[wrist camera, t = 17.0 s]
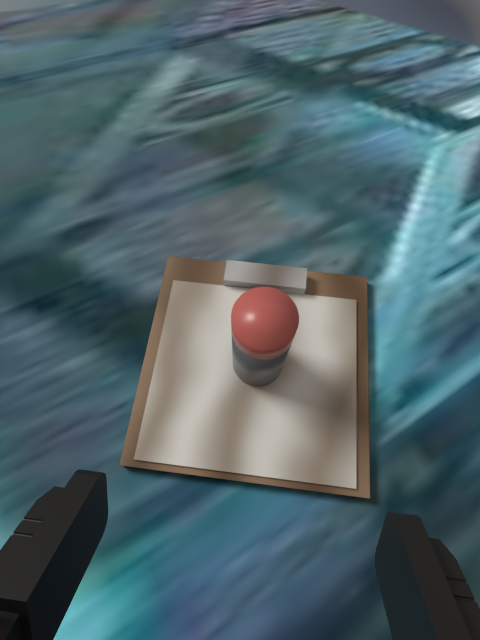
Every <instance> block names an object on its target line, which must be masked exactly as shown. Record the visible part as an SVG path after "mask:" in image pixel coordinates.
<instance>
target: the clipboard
mask: <svg viewBox="0 0 480 640" xmlns="http://www.w3.org/2000/svg"><path fill="white" fill-rule="evenodd" d="M256 287H272V288H276V289H278V290H281V291H282V292H284V293H285V294H287V295H288V296H289V297H290V298H291V299H292V300H293V301H294V303H295V305H296V307H297V309H298V313H299V325H298V329H297V331H296V334H295V336H294V339H293V342H292V344H291V347H290V349H289V352H288V354H287V357H286V360H285V362H284V365H283V367H282V370H281V372H280V374H279V376H278V377H277V378H276V379H275V380H274V381H273V382H272V383H270V384H268V385H265V386H252V385H249V384H246V383H245V382H243V381H242V380H241V379H240V378H239V377H238V376H237V375H236V373H235V371H234V368H233V358H232V333H231V312H232V308H233V305H234V303H235V302H236V300H237V299H238V298H239V297H240V296H241V295H242V294H243V293H244V292H246V291H248V290H250V289H253V288H256ZM119 465H121V466H127V467H135V468H142V469H150V470H157V471H165V472H173V473H180V474H188V475H195V476H203V477H210V478H218V479H225V480H233V481H240V482H248V483H255V484H263V485H270V486H278V487H285V488H293V489H300V490H308V491H315V492H323V493H330V494H338V495H345V496H353V497H360V498H369V499H370V456H369V379H368V302H367V277H360V276H350V275H341V274H331V273H322V272H312V271H307V268H298V267H288V266H279V265H269V264H260V263H250V262H240V261H231V260H227V262H217V261H207V260H198V259H188V258H179V257H169V256H168V260H167V264H166V268H165V272H164V277H163V281H162V285H161V290H160V294H159V298H158V302H157V307H156V311H155V315H154V319H153V324H152V328H151V332H150V336H149V341H148V345H147V349H146V353H145V358H144V362H143V366H142V371H141V375H140V379H139V383H138V388H137V392H136V396H135V400H134V405H133V409H132V413H131V417H130V422H129V426H128V430H127V434H126V439H125V443H124V447H123V452H122V456H121V460H120V464H119Z"/></svg>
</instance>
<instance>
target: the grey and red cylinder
mask: <svg viewBox="0 0 480 640" xmlns="http://www.w3.org/2000/svg"><path fill="white" fill-rule="evenodd" d="M298 325H299V313H298V309H297V307H296V305H295V303H294V301H293V300H292V299H291V298H290V297H289V296H288V295H287V294H285V293H284V292H282V291H281V290H278V289H276V288H272V287H256V288H253V289H250V290H248V291H246V292H244V293H243V294H242V295H241V296H240V297H239V298H238V299H237V300H236V302H235V303H234V305H233V308H232V312H231V333H232V358H233V368H234V371H235V373H236V375H237V376H238V377H239V378H240V379H241V380H242V381H243V382H245V383H246V384H249V385H252V386H265V385H268V384H270V383H272V382H273V381H274V380H275V379H276V378H277V377H278V376H279V374H280V372H281V370H282V367H283V365H284V362H285V360H286V357H287V354H288V352H289V349H290V347H291V344H292V342H293V339H294V336H295V334H296V331H297V329H298Z"/></svg>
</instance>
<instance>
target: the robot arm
mask: <svg viewBox="0 0 480 640" xmlns="http://www.w3.org/2000/svg"><path fill="white" fill-rule="evenodd" d="M107 518H108V501H107V481H106V474H105V473H102V472H94V471H87V470H77V471H76V472H75V473H74V474H73V476H72V477H71V479H70V480H69V482H68V483H67V485H66V486H65V488H62V487H53V488H52V489H51V490H49V491H48V492H47V493H45V494H44V495H43V496H42V497H40V498H39V499H38V500H37V501H36V502H35V503H34V505H33V506H32V507H31V509H30V510H29V512H28V513H27V514H26V516H25V517H24V520H23V521H21V523H20V524H19V525H18V527H17V528H16V529H15V531H14V534H13V535H11V536H10V538H9V539H8V540H7V542H6V543H5V545H4V546H3V547H2V549H1V550H0V640H53V639H54V637H55V635H56V633H57V630H58V628H59V626H60V624H61V622H62V620H63V618H64V616H65V614H66V612H67V609H68V607H69V605H70V603H71V601H72V599H73V597H74V595H75V593H76V590H77V588H78V586H79V584H80V582H81V580H82V578H83V576H84V574H85V572H86V569H87V567H88V565H89V563H90V561H91V559H92V557H93V555H94V553H95V551H96V548H97V546H98V544H99V542H100V540H101V538H102V536H103V533H104V530H105V527H106V523H107ZM375 568H376V575H377V579H378V583H379V587H380V591H381V595H382V599H383V603H384V607H385V611H386V615H387V619H388V622H389V626H390V630H391V634H392V638H393V640H480V609H479V607H478V605H477V603H475V601H474V596H473V594H472V592H471V590H470V588H469V586H468V584H466V579H465V577H464V575H463V573H462V571H461V568H460V566H459V564H458V562H457V560H456V558H455V557H454V556H453V555H452V554H451V552H450V551H449V550H448V549H447V548H446V547H445V545H444V544H443V543H442V542H441V541H440V540H439V539H433V538H429V537H428V534H427V532H426V530H425V527H424V525H423V523H422V520H421V519H420V517H419V516H418V515H413V514H405V513H398V512H390V511H389V512H388V513H387V515H386V518H385V521H384V524H383V528H382V531H381V535H380V538H379V541H378V545H377V548H376V553H375Z"/></svg>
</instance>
